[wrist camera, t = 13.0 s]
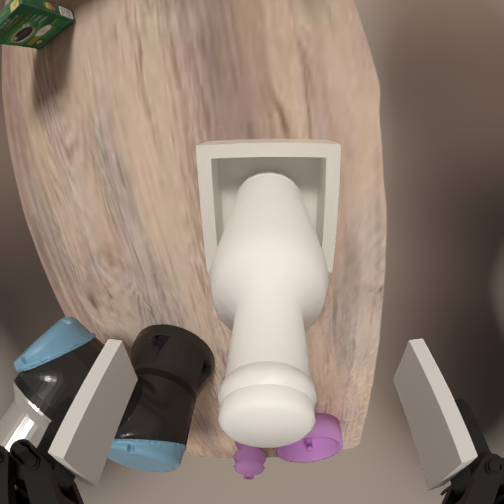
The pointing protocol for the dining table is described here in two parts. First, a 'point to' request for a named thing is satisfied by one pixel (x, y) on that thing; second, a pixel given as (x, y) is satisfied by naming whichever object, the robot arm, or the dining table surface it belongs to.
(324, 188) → the bottle rest
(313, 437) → the container set
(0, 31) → the coffee box
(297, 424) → the bottle
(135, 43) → the dining table surface
